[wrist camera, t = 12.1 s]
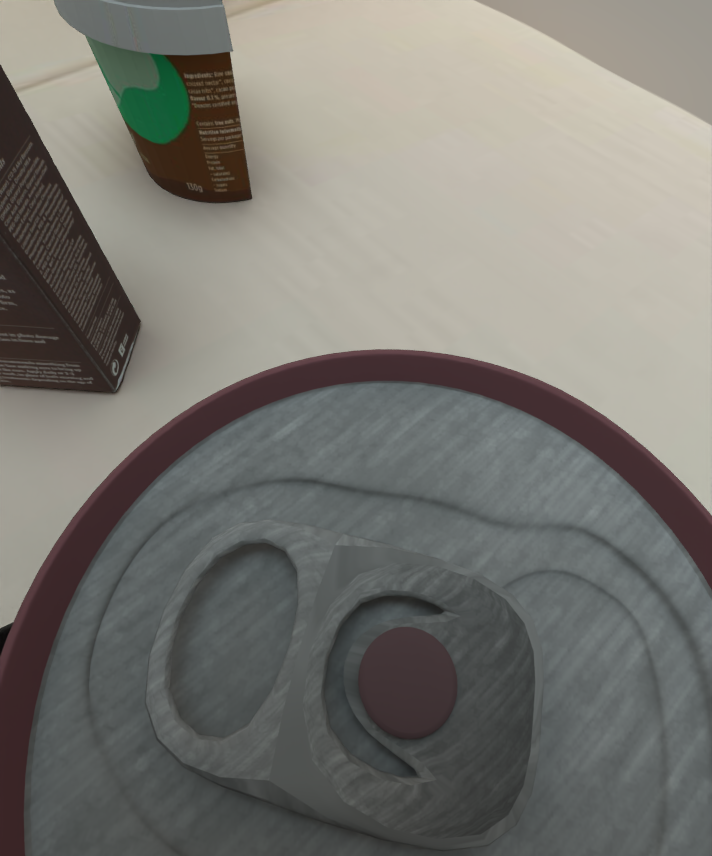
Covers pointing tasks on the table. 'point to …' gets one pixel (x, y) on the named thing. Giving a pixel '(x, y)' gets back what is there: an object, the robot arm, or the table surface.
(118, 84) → the food container
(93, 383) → the box
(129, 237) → the table surface
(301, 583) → the soda can
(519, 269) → the table surface
